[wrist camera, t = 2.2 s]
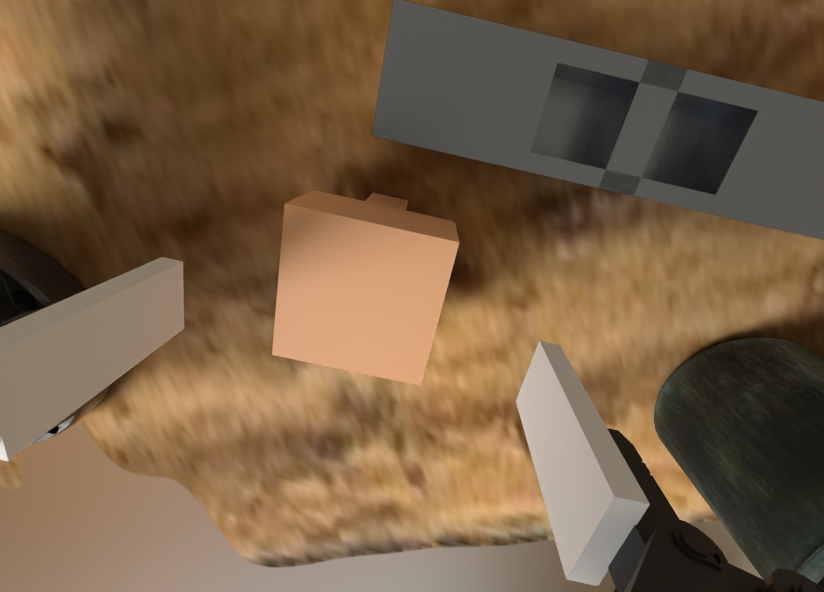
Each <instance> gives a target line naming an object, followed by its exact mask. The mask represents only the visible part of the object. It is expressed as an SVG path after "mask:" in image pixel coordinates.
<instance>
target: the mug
mask: <svg viewBox="0 0 824 592" xmlns="http://www.w3.org/2000/svg"><path fill="white" fill-rule="evenodd" d="M654 423H655V429H656V432H657V434H658V436H659V438H660V440H661V441H662V443H663V444H664V445H665V447H666V448H667V449H668V451H669V452H670V453H671V455H672V456H673V458H674V459H675V460H676V462H677V463H678V464H679V466H680V467H681V468H682V470H683V471H684V472H685V474H686V475H687V477H688V478H689V479H690V481H691V482H692V483H693V485H694V486H695V487H696V489H697V490H698V491H699V493H700V494H701V496H702V497H703V498H704V500H705V501H706V502H707V504H708V505H709V506H710V508H711V509H712V510H713V512H714V513H715V515H716V516H717V517H718V519H719V520H720V521H721V523H722V524H723V525H724V527H725V528H726V529H727V531H728V532H729V534H730V535H731V536H732V538H733V539H734V540H735V542H736V543H737V544H738V546H739V547H740V548H741V550H742V551H743V552H744V554H745V555H746V557H747V558H748V559H749V561H750V562H751V563H752V565H753V566H754V567H755V569H756V570H757V571H758V573H759V574H760V576H761V577H762V578H763V580H766V579H767V578H768V577H769V576H770V575H771V574H772V572H774V571H775V570H776V569H778V568H781V569H789V570H792V571H794V572H797V573H799V574H802V575H804V576H805V577H807V578H808V579H810V580H812V581H813V582H815V583H817V584H818V585H820V586H821V587H823V588H824V357H822V356H820V355H819V354H817V353H815V352H814V351H812V350H810V349H808V348H806V347H804V346H802V345H800V344H798V343H795V342H791V341H788V340H784V339H776V338H746V339H738V340H733V341H729V342H724V343H721V344H718V345H716V346H713V347H710V348H708V349H706V350H704V351H702V352H700V353H698V354H696V355H694V356H693V357H691V358H690V359H688V360H687V361H685V362H684V363H683V364H682V365H681V366H679V367H678V368H677V369H676V370H675V371H674V372H673V373H672V374H671V375H670V376H669V378H668V379H667V380H666V382H665V383H664V385H663V386H662V388H661V390H660V392H659V395H658V397H657V401H656V405H655V411H654Z"/></svg>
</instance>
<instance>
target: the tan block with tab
mask: <svg viewBox="0 0 824 592" xmlns="http://www.w3.org/2000/svg"><path fill="white" fill-rule="evenodd" d="M407 205H408V200H405V199H400V198H396V197H391V196H387V195H382V194H378V193H374V192H373V193H372V194H371V195H370V196H369V197H368V198H367V199H366V200H365V201H362V200H357V199H353V198H348V197H344V196H339V195H335V194H331V193H326V192H322V191H317V190H312V191H310V192H308V193H306V194H304V195H301V196H299V197H297V198H295V199H293V200H291V201H289V202H287V203H285V204H284V216H283V228H282V240H281V252H280V264H279V276H278V288H277V300H276V312H275V324H274V336H273V349H272V355H276V356H281V357H285V358H290V359H295V360H300V361H304V362H309V363H314V364H319V365H324V366H328V367H333V368H338V369H343V370H347V371H352V372H357V373H362V374H367V375H371V376H376V377H381V378H386V379H391V380H395V381H400V382H405V383H410V384H414V385H419V386H421V384H422V381H423V377H424V373H425V369H426V366H427V362H428V358H429V354H430V351H431V347H432V343H433V339H434V336H435V332H436V328H437V325H438V321H439V317H440V313H441V310H442V306H443V302H444V298H445V295H446V291H447V287H448V283H449V280H450V276H451V272H452V269H453V265H454V261H455V257H456V254H457V250H458V246H459V238H458V234H457V229H456V225H455V221H451V220H447V219H442V218H438V217H433V216H429V215H424V214H420V213H415V212H411V211H406V209H407Z"/></svg>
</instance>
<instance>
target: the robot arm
mask: <svg viewBox="0 0 824 592" xmlns="http://www.w3.org/2000/svg"><path fill="white" fill-rule="evenodd" d="M183 329H184V282H183V261H178V260H174V259H169V258H165V257H160V258H158V259H156V260H154V261H151V262H149V263H147V264H144V265H142V266H140V267H138V268H135V269H133V270H131V271H128V272H126V273H124V274H122V275H119V276H117V277H115V278H112V279H110V280H108V281H106V282H103V283H101V284H99V285H96V286H94V287H92V288H89V289H87V290H85V291H84V290H83V289H82V288H81V286H80V285H79V284H78V283H77V282H76V281H75V280H74V279H73V278H72V277H71V276H70V275H69V274H68V273H67V272H66V271H65V270H64V269H63V268H61V267H60V266H59V265H58V264H57V263H55V262H54V261H53V260H52V259H50V258H49V257H47V256H46V255H45V254H43V253H42V252H40V251H39V250H37V249H36V248H34V247H32V246H31V245H29V244H27V243H25V242H24V241H22V240H20V239H18V238H16V237H13V236H11V235H9V234H7V233H4V232H1V231H0V460H4V461H9V460H11V459H12V458H13V457H15V456H16V455H17V454H19V453H20V452H21V451H23V450H24V449H25V448H27V447H28V446H29V445H31V444H33V443H36V442H41V441H44V440H46V439H49V438H51V437H53V436H56V435H58V434H60V433H62V432H63V431H65V430H66V429H68V428H70V427H71V426H73V425H74V424H75V423H76V422H78V421H79V420H80V419H81V418H83V417H84V416H85V415H86V414H88V413H89V412H90V411H91V410H92V409H94V408H95V407H96V406H97V405H98V404H99V403H100V402H101V401H102V400H103V399H104V398H105V396H106V395H107V393H108V391H109V389H110V387H111V384H112V383H113V382H114V381H115V380H117V379H118V378H119V377H121V376H122V375H123V374H125V373H126V372H127V371H129V370H130V369H131V368H133V367H134V366H135V365H137V364H138V363H139V362H141V361H142V360H143V359H145V358H146V357H147V356H149V355H150V354H151V353H153V352H154V351H155V350H157V349H158V348H159V347H160V346H162V345H163V344H164V343H166V342H167V341H168V340H170V339H171V338H172V337H174V336H175V335H176V334H178V333H179V332H180V331H182V330H183ZM516 403H517V407H518V410H519V414H520V417H521V421H522V424H523V428H524V431H525V435H526V439H527V442H528V446H529V449H530V453H531V456H532V460H533V463H534V467H535V470H536V474H537V477H538V481H539V484H540V488H541V492H542V495H543V499H544V502H545V506H546V509H547V513H548V516H549V520H550V523H551V527H552V530H553V534H554V537H555V541H556V544H557V548H558V552H559V555H560V558H561V562H562V566H563V569H564V573H565V576H566V579H567V580H572V581H577V582H582V583H587V584H591V585H596V586H598V585H599V583H600V582H601V580H602V579H603V577H604V576H605V574H606V573H607V571H608V570H609V571H610V574H611V576H612V579H613V582H614V584H615V587H616V588H615V589H614V591H613V592H824V588H823V587H821V586H820V585H818V584H817V583H815V582H813V581H812V580H810V579H808V578H807V577H805V576H804V575H802V574H799V573H797V572H794V571H792V570H789V569H781V568H778V569H776V570H775V571H774V572H772V574H771V575H770V576H769V577H768V578H767V579H766V580H763V579H761V578H759V577H756V576H754V575H752V574H750V573H748V572H746V571H744V570H742V569H740V568H737V567H735V566H733V565H731V564H729V563H728V561H727V560H726V558H725V556H724V554H723V553H722V551H721V550H720V549H719V547H718V546H717V545H716V544H715V543H714V542H713V541H712V540H711V539H710V538H709V537H708V536H706V535H705V534H704V533H703V532H701V531H700V530H699V529H698V528H696V527H694V526H692V525H690V524H689V523H687V522H685V521H682V520H679V518H678V516H677V515H676V513H675V512H674V510H673V508H672V507H671V505H670V504H669V502H668V500H667V499H666V497H665V496H664V494H663V492H662V491H661V489H660V488H659V486H658V484H657V483H656V481H655V479H654V478H653V476H651V475H650V471H649V470H648V468H647V467H646V465H645V463H642V459H641V457H640V455H639V454H638V452H637V450H636V449H635V447H634V446H633V444H632V443H630V442H629V441H628V440H627V439H626V438H625V437H624V436H623V435H622V434H621V433H620V432H619V431H618V430H613V429H608V428H606V426H605V424H604V422H603V420H602V419H601V417H600V415H599V413H598V412H597V410H596V408H595V406H594V405H593V403H592V401H591V399H590V398H589V396H588V394H587V392H586V390H585V389H584V387H583V385H582V383H581V382H580V380H579V378H578V376H577V375H576V373H575V371H574V369H573V368H572V366H571V364H570V362H569V361H568V359H567V357H566V355H565V353H564V352H563V350H562V348H561V346H560V345H556V344H551V343H547V342H542V341H539V343H538V346H537V348H536V351H535V354H534V356H533V359H532V361H531V364H530V366H529V369H528V372H527V374H526V377H525V379H524V382H523V384H522V387H521V390H520V392H519V395H518V397H517V400H516Z"/></svg>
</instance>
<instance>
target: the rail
mask: <svg viewBox="0 0 824 592" xmlns="http://www.w3.org/2000/svg"><path fill="white" fill-rule="evenodd" d="M372 136H374V137H379V138H383V139H387V140H392V141H396V142H400V143H405V144H409V145H413V146H418V147H422V148H426V149H431V150H435V151H439V152H444V153H448V154H452V155H457V156H461V157H466V158H470V159H474V160H479V161H483V162H487V163H492V164H496V165H500V166H505V167H509V168H513V169H518V170H522V171H526V172H531V173H535V174H540V175H544V176H548V177H553V178H557V179H561V180H566V181H570V182H574V183H579V184H583V185H587V186H592V187H596V188H600V189H605V190H609V191H613V192H618V193H622V194H627V195H631V196H635V197H640V198H644V199H648V200H653V201H657V202H661V203H666V204H670V205H674V206H679V207H683V208H687V209H692V210H696V211H701V212H705V213H709V214H714V215H718V216H722V217H727V218H731V219H735V220H740V221H744V222H748V223H753V224H757V225H761V226H766V227H770V228H774V229H779V230H783V231H788V232H792V233H796V234H801V235H805V236H809V237H814V238H818V239H822V240H824V102H822V101H817V100H813V99H809V98H805V97H801V96H797V95H793V94H788V93H784V92H780V91H776V90H772V89H768V88H764V87H760V86H755V85H751V84H747V83H743V82H739V81H735V80H731V79H727V78H722V77H718V76H714V75H710V74H706V73H702V72H698V71H694V70H689V69H685V68H681V67H677V66H673V65H669V64H665V63H661V62H656V61H652V60H648V59H644V58H640V57H636V56H632V55H627V54H623V53H619V52H615V51H611V50H607V49H603V48H599V47H594V46H590V45H586V44H582V43H578V42H574V41H570V40H566V39H561V38H557V37H553V36H549V35H545V34H541V33H537V32H533V31H528V30H524V29H520V28H516V27H512V26H508V25H504V24H499V23H495V22H491V21H487V20H483V19H479V18H475V17H471V16H466V15H462V14H458V13H454V12H450V11H446V10H442V9H438V8H433V7H429V6H425V5H421V4H417V3H413V2H409V1H405V0H393V5H392V12H391V18H390V24H389V30H388V37H387V43H386V49H385V56H384V62H383V68H382V74H381V81H380V87H379V93H378V100H377V106H376V112H375V118H374V125H373V131H372Z"/></svg>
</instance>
